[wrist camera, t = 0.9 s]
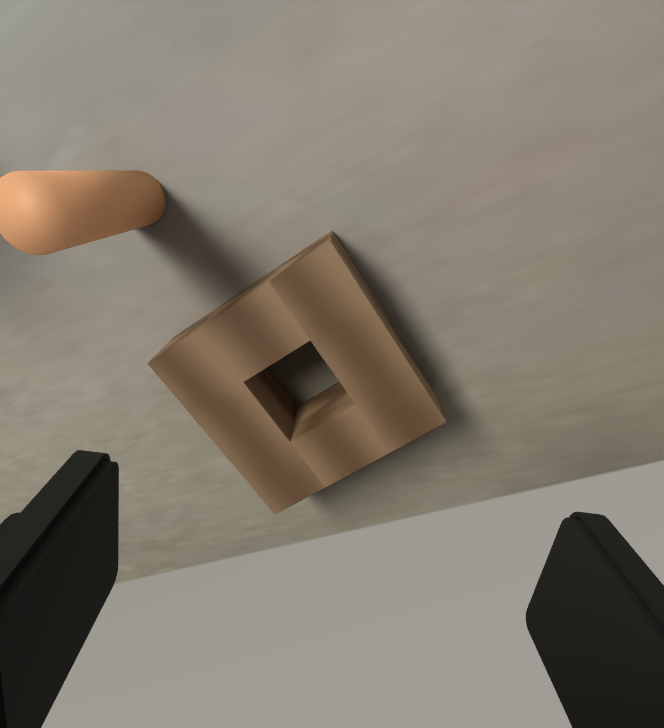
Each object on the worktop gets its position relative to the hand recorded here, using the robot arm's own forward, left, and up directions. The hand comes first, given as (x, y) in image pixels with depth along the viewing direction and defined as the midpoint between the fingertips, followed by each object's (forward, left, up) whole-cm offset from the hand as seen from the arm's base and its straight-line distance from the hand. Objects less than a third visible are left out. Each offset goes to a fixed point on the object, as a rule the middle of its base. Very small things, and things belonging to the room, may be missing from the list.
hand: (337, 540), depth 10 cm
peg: (+10, -13, -31) cm, 35 cm away
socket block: (+7, +5, -31) cm, 32 cm away
